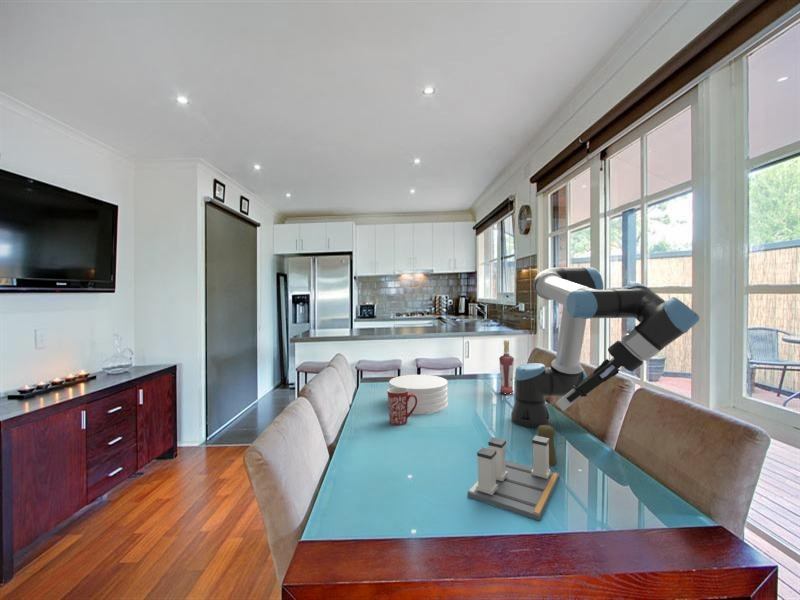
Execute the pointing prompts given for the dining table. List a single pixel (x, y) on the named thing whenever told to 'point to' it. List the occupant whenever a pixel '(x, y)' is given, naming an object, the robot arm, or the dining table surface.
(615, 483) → the dining table surface
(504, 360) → the liquor
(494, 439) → the lever mid
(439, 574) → the dining table surface
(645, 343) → the robot arm
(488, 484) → the lever far
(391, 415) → the mug
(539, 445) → the lever
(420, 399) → the plate stack
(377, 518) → the dining table surface
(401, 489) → the dining table surface
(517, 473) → the panel
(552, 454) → the cork
